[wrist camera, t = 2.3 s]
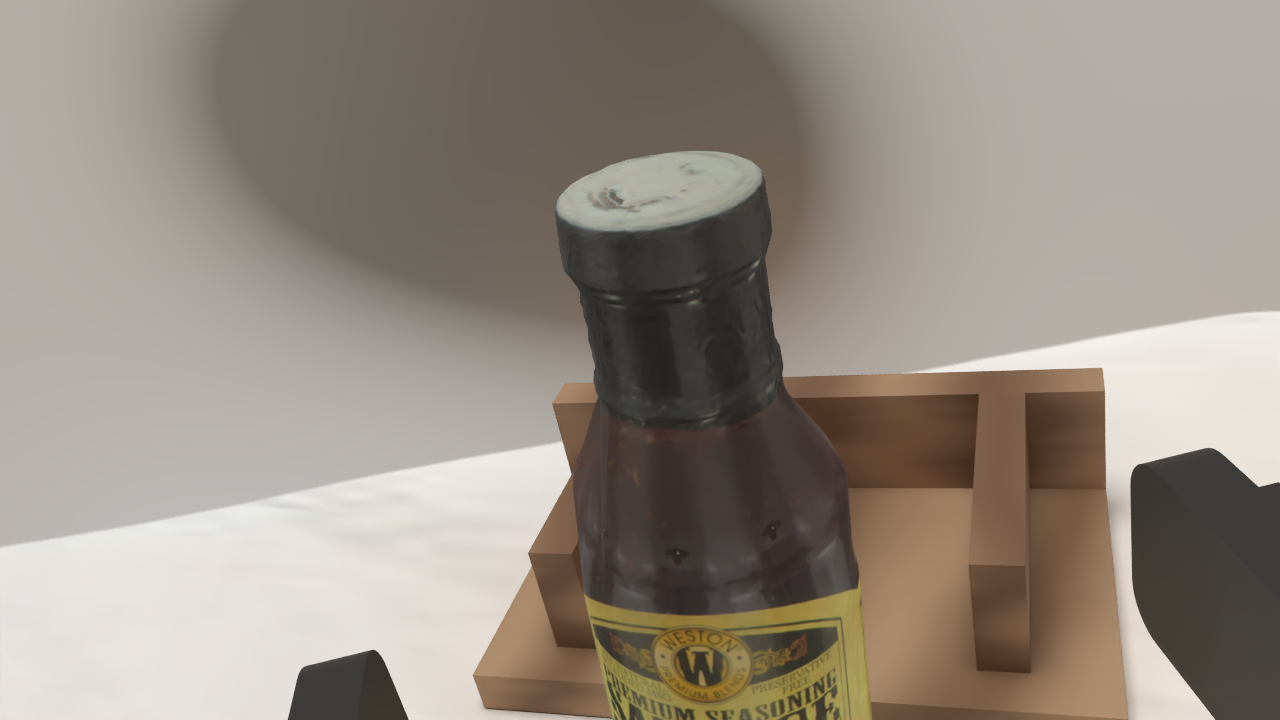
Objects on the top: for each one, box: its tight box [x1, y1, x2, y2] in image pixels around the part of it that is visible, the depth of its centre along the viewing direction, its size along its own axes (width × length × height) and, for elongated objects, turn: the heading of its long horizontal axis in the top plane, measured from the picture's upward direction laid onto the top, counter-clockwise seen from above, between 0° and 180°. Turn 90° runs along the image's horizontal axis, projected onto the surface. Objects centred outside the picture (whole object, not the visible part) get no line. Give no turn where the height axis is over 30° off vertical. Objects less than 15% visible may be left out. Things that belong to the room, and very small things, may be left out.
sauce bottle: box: [555, 151, 872, 720], centre depth 26 cm, size 7×6×20 cm
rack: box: [473, 368, 1128, 720], centre depth 39 cm, size 20×12×6 cm, turn 74°
